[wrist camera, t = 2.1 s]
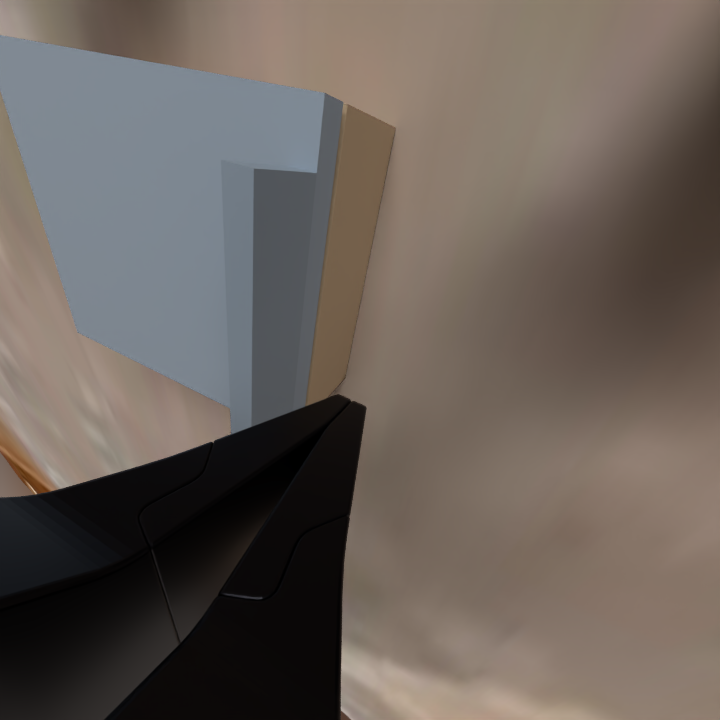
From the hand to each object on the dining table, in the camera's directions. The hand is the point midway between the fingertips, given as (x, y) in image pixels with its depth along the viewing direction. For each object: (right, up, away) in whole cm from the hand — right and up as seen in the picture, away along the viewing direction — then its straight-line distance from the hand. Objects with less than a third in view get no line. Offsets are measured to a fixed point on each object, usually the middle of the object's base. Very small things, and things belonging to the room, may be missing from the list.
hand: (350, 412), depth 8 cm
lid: (-9, +7, +7) cm, 13 cm away
